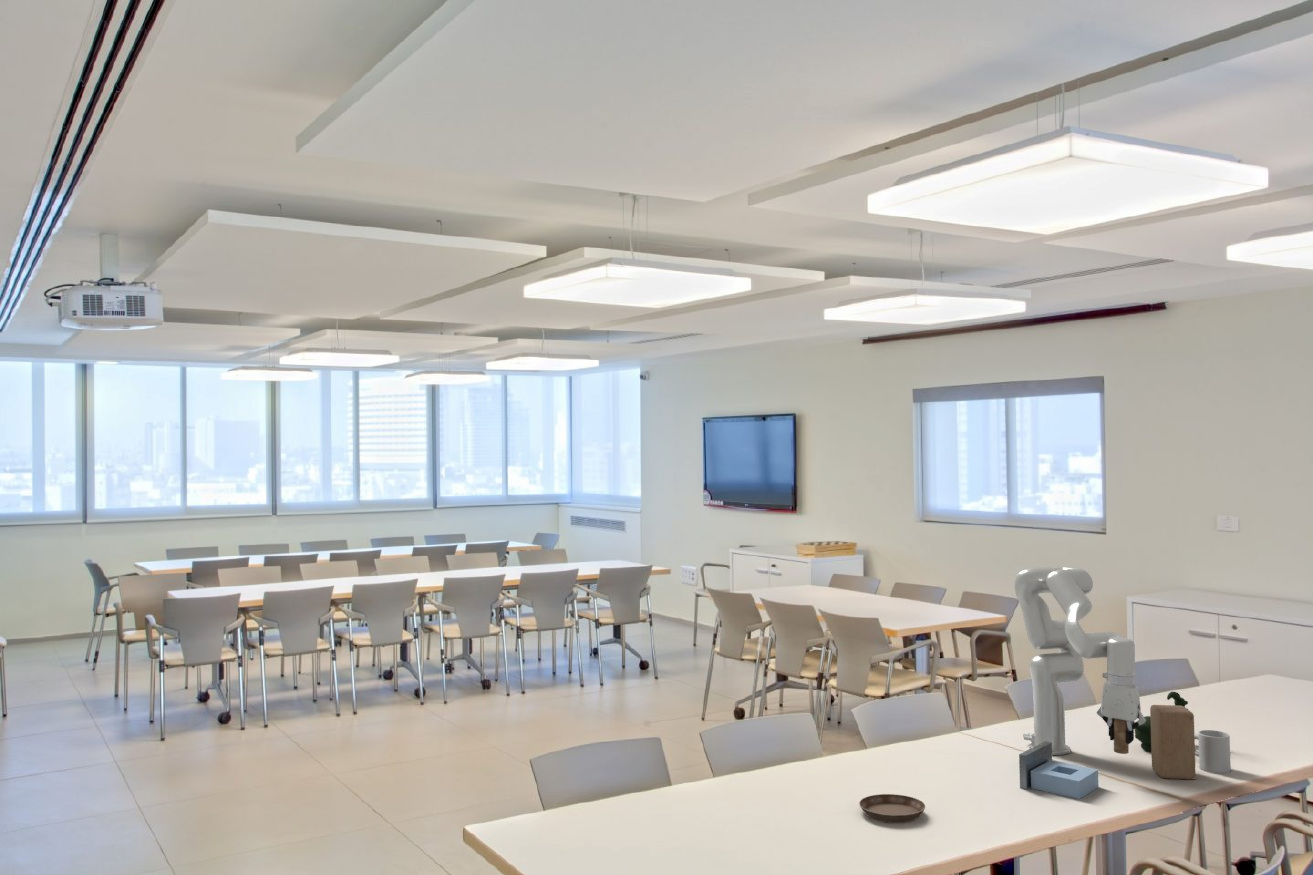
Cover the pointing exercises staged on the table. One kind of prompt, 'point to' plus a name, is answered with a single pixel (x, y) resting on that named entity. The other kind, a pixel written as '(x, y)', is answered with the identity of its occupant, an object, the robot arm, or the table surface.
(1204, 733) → the mug
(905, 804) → the plant saucer
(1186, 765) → the wooden block
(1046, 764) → the socket block
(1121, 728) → the dowel
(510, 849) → the table surface
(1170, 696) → the toy figurine
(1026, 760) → the backstop wall
